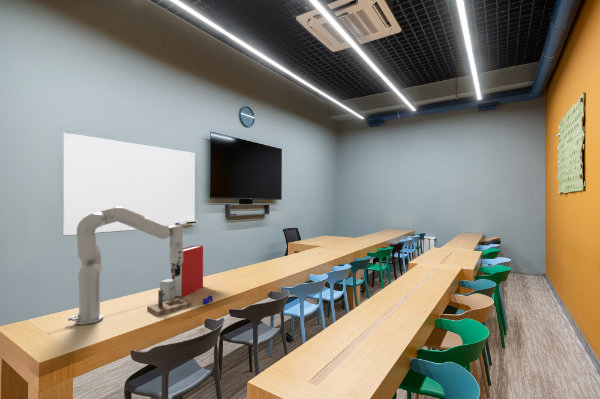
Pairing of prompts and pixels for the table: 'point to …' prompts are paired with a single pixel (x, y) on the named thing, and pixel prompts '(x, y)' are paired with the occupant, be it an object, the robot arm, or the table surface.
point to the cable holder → (207, 299)
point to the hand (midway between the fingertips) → (175, 273)
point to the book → (190, 271)
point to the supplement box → (168, 289)
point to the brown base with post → (167, 305)
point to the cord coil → (174, 270)
